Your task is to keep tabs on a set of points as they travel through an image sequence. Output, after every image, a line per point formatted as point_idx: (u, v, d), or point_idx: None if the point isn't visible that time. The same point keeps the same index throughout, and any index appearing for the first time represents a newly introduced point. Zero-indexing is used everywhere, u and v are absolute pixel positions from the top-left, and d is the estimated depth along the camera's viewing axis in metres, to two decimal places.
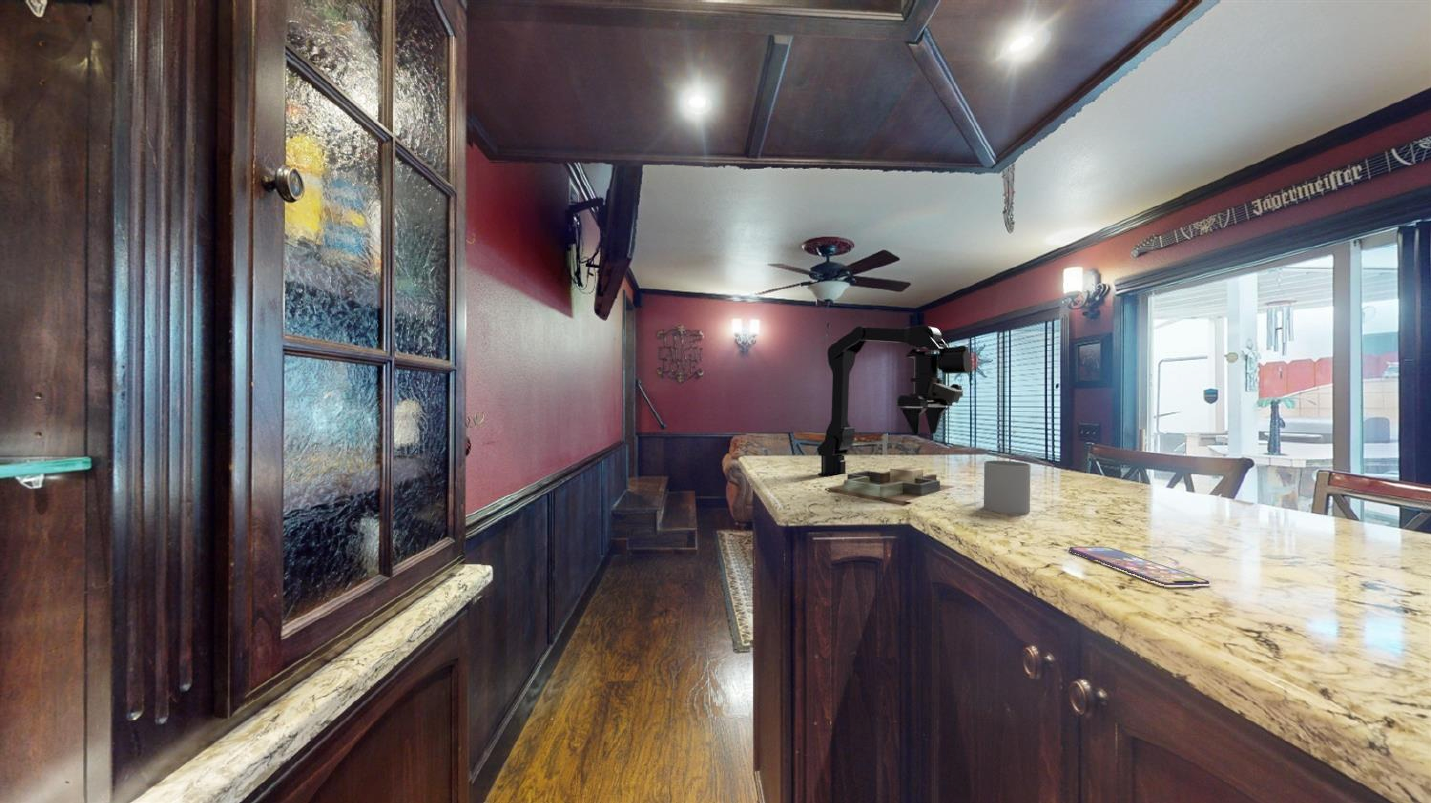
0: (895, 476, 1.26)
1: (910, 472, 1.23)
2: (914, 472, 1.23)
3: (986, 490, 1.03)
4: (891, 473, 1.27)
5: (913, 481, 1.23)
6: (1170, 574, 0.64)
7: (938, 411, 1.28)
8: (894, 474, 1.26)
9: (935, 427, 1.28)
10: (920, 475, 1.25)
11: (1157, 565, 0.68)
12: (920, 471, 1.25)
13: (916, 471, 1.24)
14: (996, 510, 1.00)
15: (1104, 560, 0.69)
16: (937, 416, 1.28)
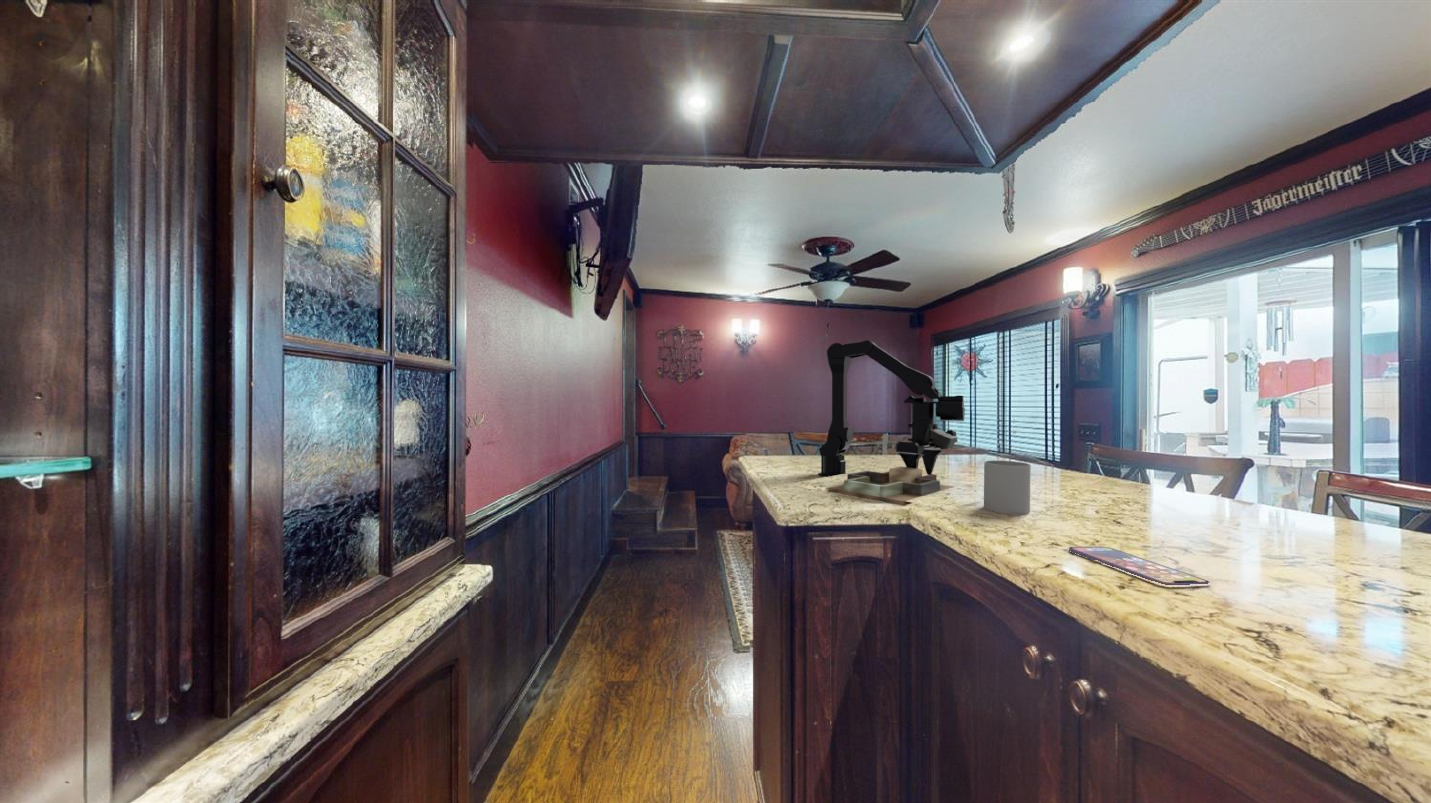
0: (894, 476, 1.25)
1: (909, 472, 1.22)
2: (913, 472, 1.23)
3: (986, 490, 1.03)
4: (890, 473, 1.26)
5: (912, 481, 1.23)
6: (1170, 574, 0.64)
7: (934, 454, 1.35)
8: (893, 474, 1.26)
9: (931, 469, 1.35)
10: (919, 475, 1.25)
11: (1157, 565, 0.68)
12: (919, 471, 1.25)
13: (915, 471, 1.24)
14: (996, 510, 1.00)
15: (1104, 560, 0.69)
16: (933, 459, 1.35)
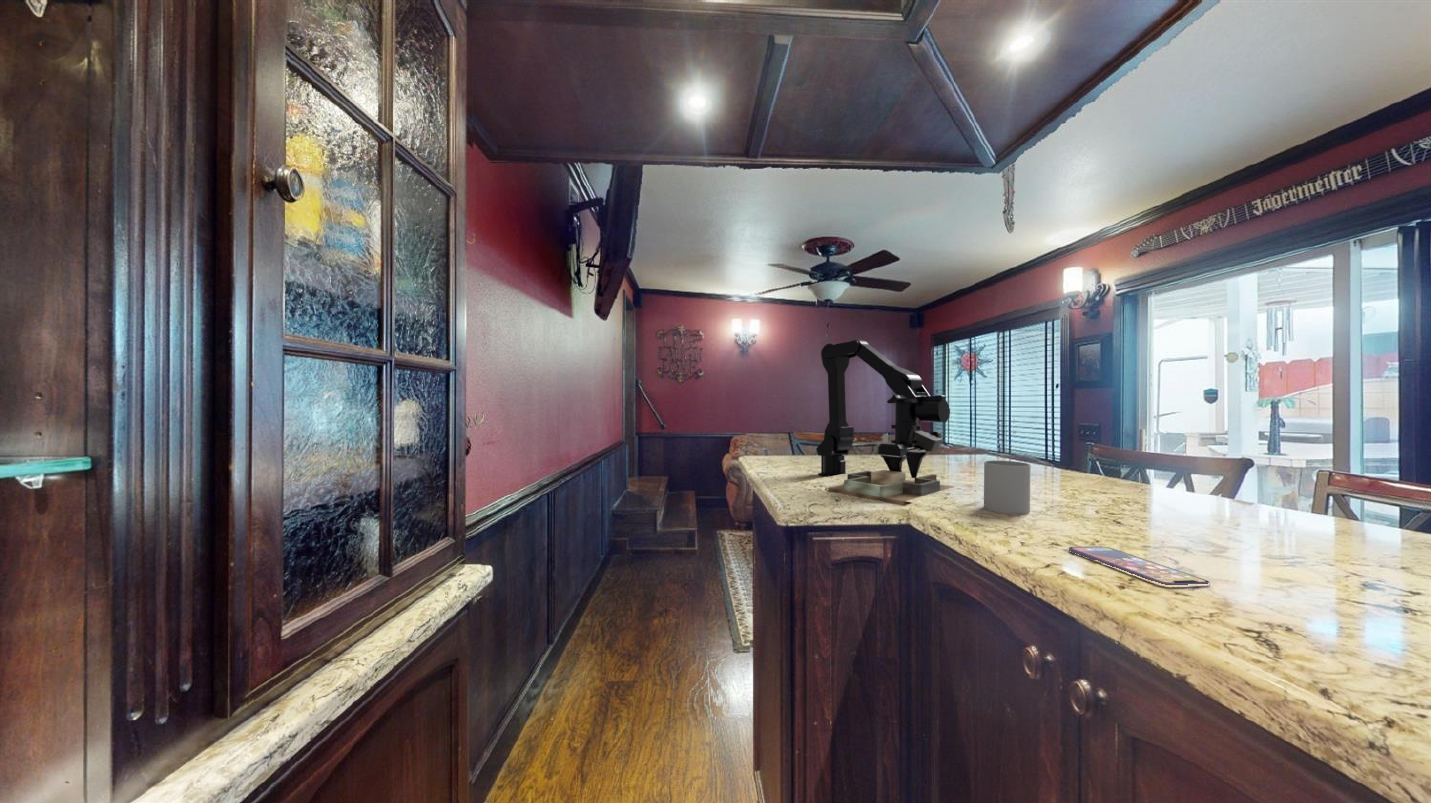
0: (876, 480, 1.19)
1: (891, 476, 1.16)
2: (896, 476, 1.17)
3: (986, 490, 1.03)
4: (872, 477, 1.20)
5: None
6: (1170, 574, 0.64)
7: (918, 456, 1.29)
8: (875, 478, 1.20)
9: (916, 472, 1.29)
10: (902, 479, 1.19)
11: (1157, 565, 0.68)
12: (902, 475, 1.19)
13: (898, 475, 1.18)
14: (996, 510, 1.00)
15: (1104, 560, 0.69)
16: (917, 461, 1.29)
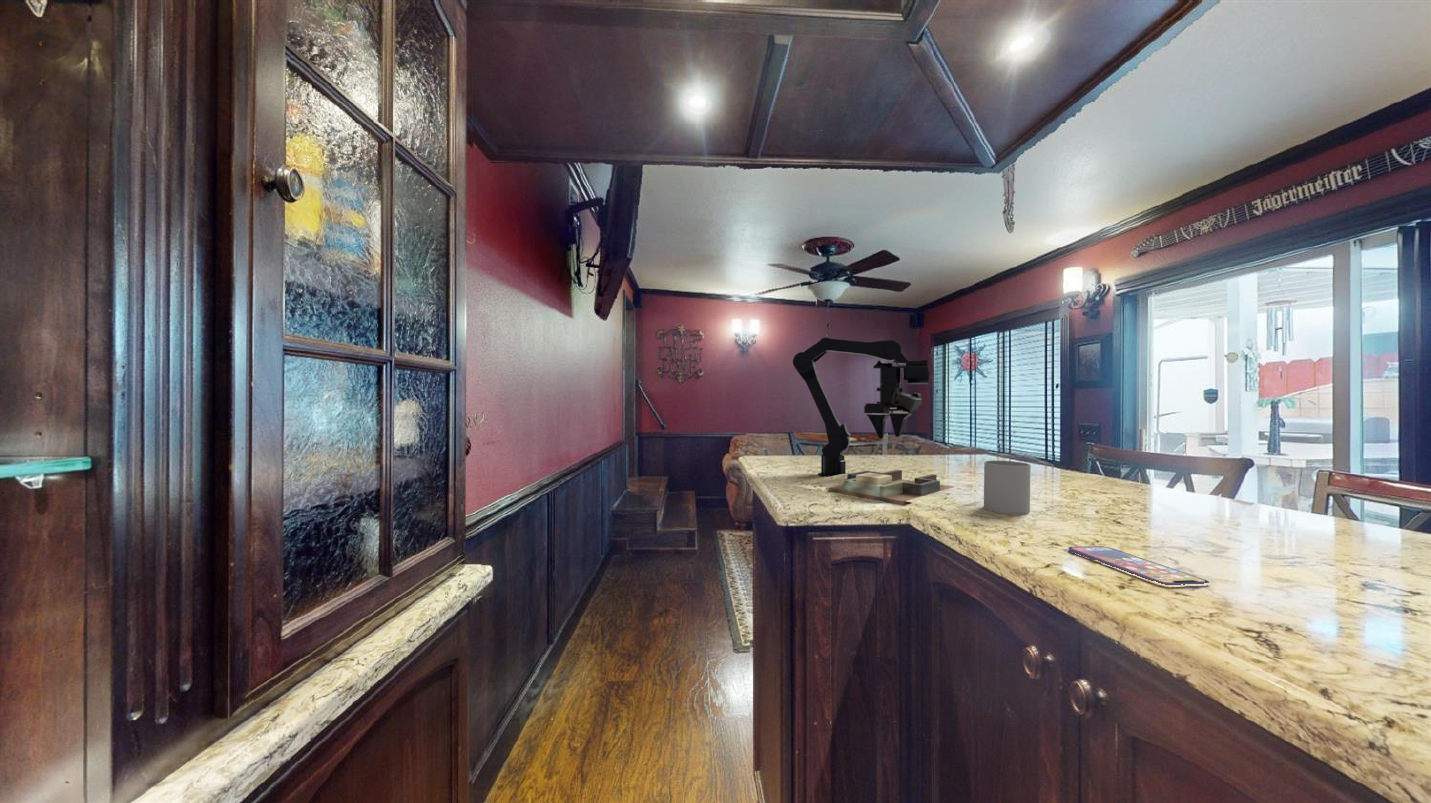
0: None
1: (877, 479, 1.12)
2: (881, 479, 1.12)
3: (986, 490, 1.03)
4: (857, 480, 1.16)
5: None
6: (1169, 574, 0.64)
7: (901, 417, 1.42)
8: (860, 481, 1.15)
9: (899, 431, 1.42)
10: (888, 482, 1.15)
11: (1156, 565, 0.68)
12: (888, 478, 1.15)
13: (883, 478, 1.13)
14: (996, 510, 1.00)
15: (1103, 560, 0.70)
16: (901, 421, 1.42)
